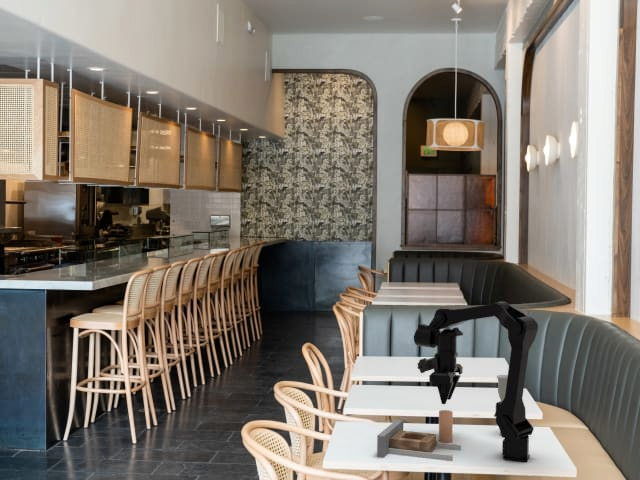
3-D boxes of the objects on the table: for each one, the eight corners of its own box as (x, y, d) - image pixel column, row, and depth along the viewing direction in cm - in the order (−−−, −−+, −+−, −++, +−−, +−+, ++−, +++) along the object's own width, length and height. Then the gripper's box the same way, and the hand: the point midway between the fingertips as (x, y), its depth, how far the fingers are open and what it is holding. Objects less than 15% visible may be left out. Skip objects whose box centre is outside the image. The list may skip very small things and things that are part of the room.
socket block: (436, 447, 234) (436, 434, 234) (428, 457, 225) (428, 442, 225) (399, 443, 238) (399, 430, 238) (390, 452, 229) (390, 438, 229)
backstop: (463, 446, 237) (463, 425, 236) (449, 465, 218) (449, 443, 218) (396, 439, 244) (396, 419, 244) (377, 456, 225) (377, 435, 225)
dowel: (453, 440, 243) (453, 410, 242) (450, 444, 239) (450, 413, 239) (440, 439, 244) (440, 409, 244) (437, 442, 240) (437, 412, 240)
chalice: (523, 436, 248) (524, 378, 247) (504, 438, 245) (505, 379, 245) (509, 430, 254) (510, 374, 254) (491, 432, 252) (491, 375, 251)
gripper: (427, 343, 252) (427, 393, 253) (412, 352, 235) (411, 405, 235) (463, 345, 248) (462, 396, 249) (450, 355, 231) (449, 409, 231)
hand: (446, 401), depth 241 cm, fingers open, 6 cm apart
